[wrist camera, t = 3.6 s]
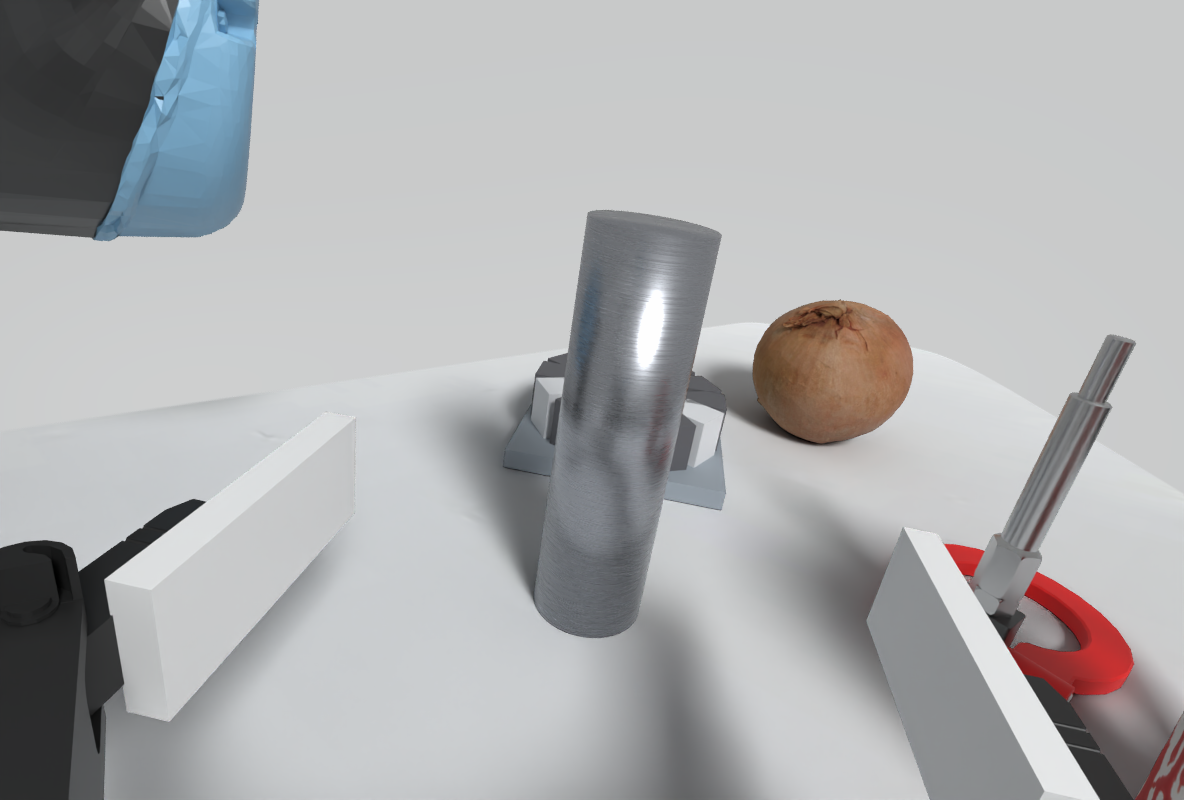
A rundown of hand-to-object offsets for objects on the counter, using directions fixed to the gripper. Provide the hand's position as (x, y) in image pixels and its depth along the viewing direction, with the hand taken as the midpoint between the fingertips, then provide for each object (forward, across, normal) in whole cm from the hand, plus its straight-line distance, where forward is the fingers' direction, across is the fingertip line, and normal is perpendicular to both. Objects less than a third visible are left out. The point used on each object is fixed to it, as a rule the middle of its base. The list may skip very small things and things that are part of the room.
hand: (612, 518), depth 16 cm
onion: (+28, +11, -8) cm, 31 cm away
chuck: (+21, 0, -8) cm, 22 cm away
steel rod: (+7, 0, -8) cm, 10 cm away
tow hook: (+11, +16, -8) cm, 21 cm away
